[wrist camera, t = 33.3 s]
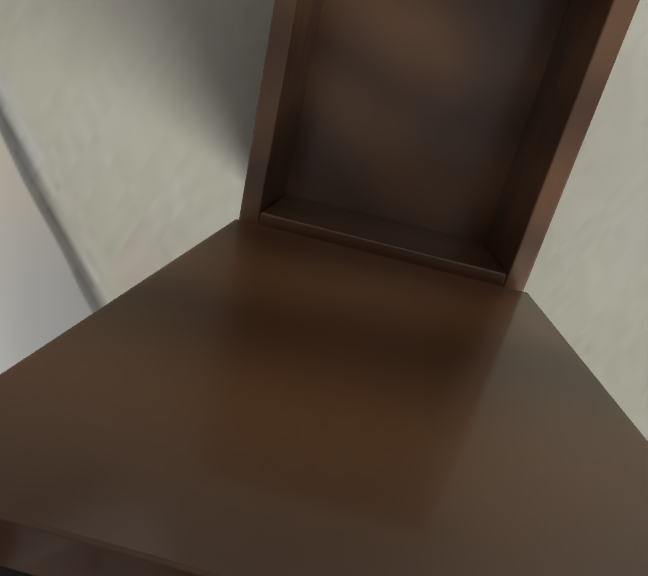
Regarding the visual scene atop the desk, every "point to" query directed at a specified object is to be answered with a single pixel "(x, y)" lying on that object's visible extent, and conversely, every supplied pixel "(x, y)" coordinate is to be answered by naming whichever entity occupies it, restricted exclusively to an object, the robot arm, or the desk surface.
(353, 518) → the box lid
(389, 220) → the storage box
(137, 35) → the desk surface
